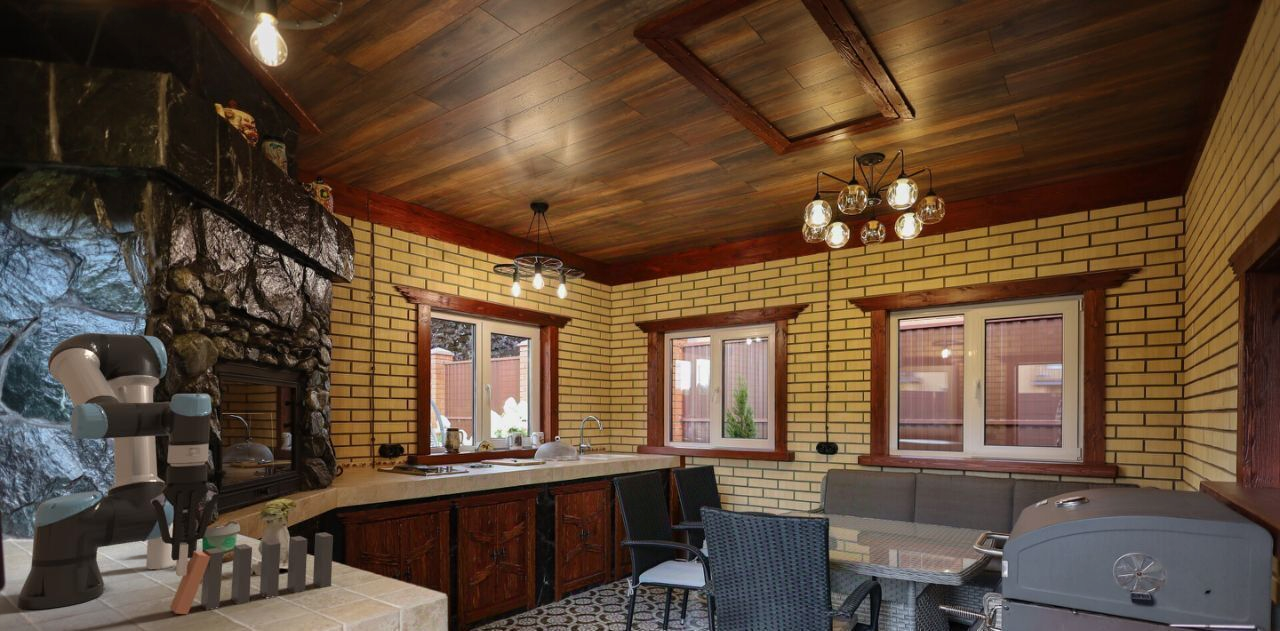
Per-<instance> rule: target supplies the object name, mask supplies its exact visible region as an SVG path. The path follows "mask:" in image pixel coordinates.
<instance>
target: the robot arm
mask: <svg viewBox="0 0 1280 631" xmlns="http://www.w3.org/2000/svg"><path fill="white" fill-rule="evenodd" d="M167 356H168V355H167V352H166V347H165V346H164V343H163V342H162V341H161V339H159V338H158V337H156V336H150V335H143V334H121V333H120V334H119V333H99V332H88V333H80V334H76V335H73V336H71V337H69V338H66V339H65V340H63V341H61V342H60V343H58V344H57V345H56V346H55V347H54V348H53V349H52V351H51V352H50V354H49V357H48V360H47V367H48V368H47V369H48V371H49V373H50V375H51V376H52V377H53V379H54V380H55V381H56V382H58V383H60V384H62V385H63V388H64V389H65V391H66V394H67V395H68V396H69V397H68V398H70V400H71V402H72V404H73V406H74V408H73V409H72V412H71V415H70V416H71V417H70V430H71V434H72V437H73V438H75V439H78V440H93V441H94V440H101V439H113V455H114V456H113V457H114V459H113V460H114V483H113V485H111V486H110V487H109V489H107V495H106V496H103V495H102V492H100V491H96V490H95V491H93V490H91V491H85V492H78V493H71V494H66V495H61V496H57V497H53V498H51V499H47V500H45V501H43V502H41V503H40V504H39V506H38V507H37V509H36V512H35V518H34V522H33V527H34V528H33V529H34V531H33V532H34V533H33V543H32V552H31V553H32V555H31V565H30V566H31V567H30V571H29V573H28V576H26V579H25V581H24V583H23V586H22V588H21V590H20V592H19V595H18V599H17V607H18V608H20V609H24V610H25V609H26V610H40V609H41V610H43V609H52V608H54V609H55V608H61V607H66V606H67V607H68V606H71V605H76V604H81V603H85V602H89V601H91V600H94V599H97V598H99V597H101V596H102V595H103V594H104V589H105V587H104V586H105V583H104V579H103V576H102V572H101V571H100V566H99V565H98V560H97V558H98V557H97V555H98V548H103V547H111V546H116V545H123V544H124V545H125V544H131V543H136V542H143V543H144V542H146V541H148V540H150V539H155V538H160V537H162V541H163V542H165V543H168V544H172V553H171V558H172V560H175V561H176V562H175V574H176V576H177V577H183V576H184V575H187V565H188V559H190V558H192V557H193V549H194V542H195V541H197V542H198V541H199V540H201V539H202V538H203V537H204V535H205V532H206V529H208V524H209V523H210V518H211V516H212V514H213V513H212V512H213V509H214V506H215V505H216V503H217V501H218V500H219V499H220V497H221V495H220V494H219V493H216V492H214V491H212V490H210V487H209V485H208V483H207V482H208V466H209V465H207V464H206V462H208V460H209V445H210V443H209V442H210V429H211V413H212V410H213V409H212V398H211V396H210V395H209V394H208V393H176V394H173V395H172V397H171V400H170V401H163V402H161V401H160V402H156V401H155V402H154V393H153V392H154V391H153V389H154V388H155V387H157V386H158V385H159V384H160V379H162V378H163V377H165V375H166V372H167V369H168V368H167V365H168V357H167ZM161 436H162V437H163V436H168V448H167V449H168V451H167V463H168V464H170V465H168V466H167V467H166V478H165V480H166V481H164V480H163V479H161V478H160V477H159V476H158V467H157V466H158V465H157V450H156V449H157V445H156V437H161ZM204 498H205V500H206V502H204V503H205V504H204V506H203V510H202V513H201V516H200V519H199V522H198V528H197V531H196V534H195V524H196V520H197V510H198V505H199V503H200V502H201V501H202V500H203V499H204ZM184 508H186V510H187V526H186V542H184V543H180V542H181V528H182V513H183V510H184ZM172 521H173V529H172V537H170V533H169V528H170V526H171V524H172Z"/></svg>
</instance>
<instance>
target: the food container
mask: <svg viewBox="0 0 1280 631" xmlns="http://www.w3.org/2000/svg"><path fill="white" fill-rule="evenodd" d="M240 531H241V526H240V524H239V521H236V520H227V523H225V524H224V525H217V526H214V527H213V528H212V527H211V528H207V529H206V532H205V535H204V537H203V538H202V542H201V543H202V544H201V546H202V547H201V548H202V552H205V550H206V549H213V548H218V549H220V550H221V551H223V562H222V565H223V564H227V563H230V562H233V555H234V546H235V545H237V538H238V532H240Z"/></svg>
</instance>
